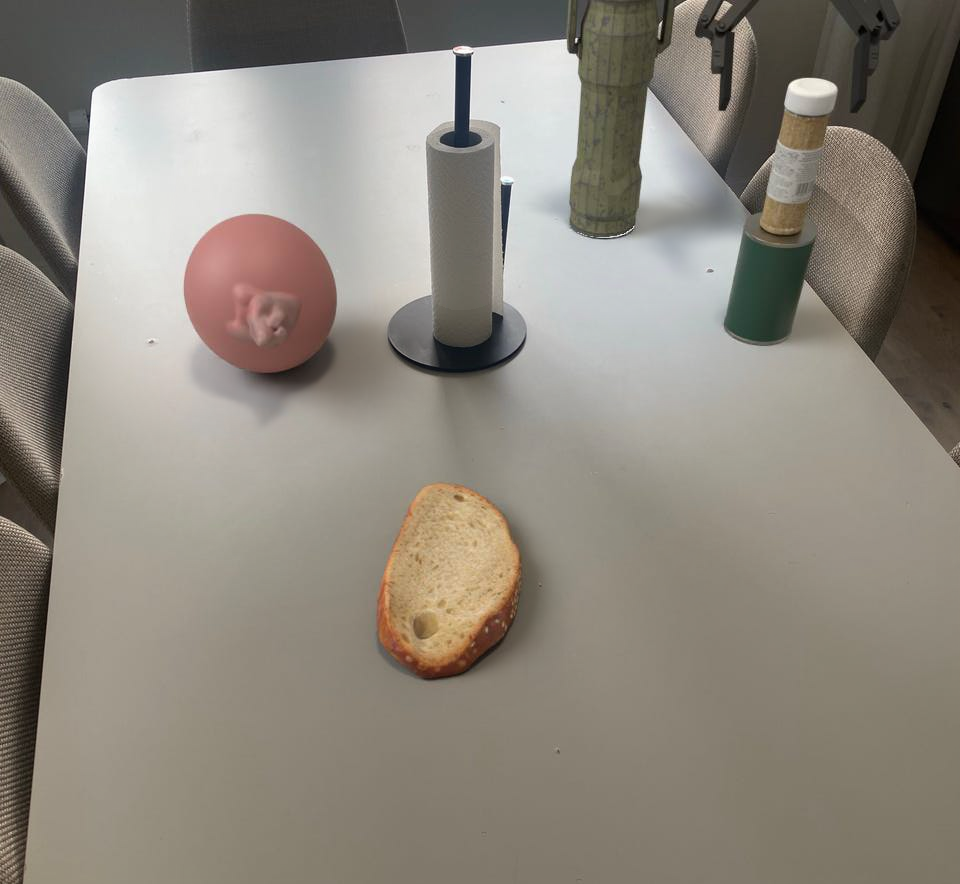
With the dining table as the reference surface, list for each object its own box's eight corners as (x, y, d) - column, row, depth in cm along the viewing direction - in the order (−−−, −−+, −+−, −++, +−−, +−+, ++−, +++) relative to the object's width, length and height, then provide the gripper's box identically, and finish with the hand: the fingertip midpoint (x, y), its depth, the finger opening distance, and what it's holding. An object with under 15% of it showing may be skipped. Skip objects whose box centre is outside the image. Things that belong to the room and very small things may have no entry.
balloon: (196, 435, 94) (155, 292, 83) (206, 328, 107) (172, 192, 96) (350, 421, 96) (330, 279, 84) (342, 317, 109) (324, 182, 97)
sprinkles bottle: (790, 214, 100) (824, 73, 90) (810, 234, 97) (848, 91, 87) (750, 219, 99) (780, 78, 89) (769, 239, 96) (802, 96, 86)
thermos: (656, 235, 121) (701, -106, 95) (566, 243, 120) (586, -100, 93) (637, 204, 127) (675, -126, 100) (551, 211, 126) (567, -120, 99)
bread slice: (451, 484, 89) (450, 452, 86) (590, 584, 80) (594, 552, 78) (295, 576, 81) (288, 544, 78) (430, 698, 73) (428, 667, 70)
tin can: (792, 314, 108) (818, 214, 100) (790, 349, 104) (817, 248, 95) (726, 306, 110) (746, 207, 101) (721, 340, 105) (741, 240, 96)
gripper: (914, -85, 99) (899, 124, 101) (675, -86, 100) (664, 121, 102) (945, -139, 91) (929, 88, 93) (687, -139, 93) (675, 85, 94)
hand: (790, 106), depth 97 cm, fingers open, 13 cm apart
